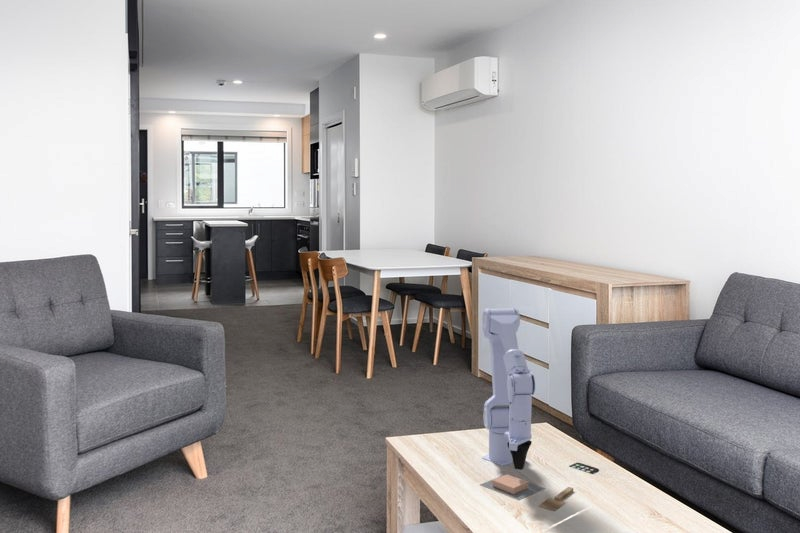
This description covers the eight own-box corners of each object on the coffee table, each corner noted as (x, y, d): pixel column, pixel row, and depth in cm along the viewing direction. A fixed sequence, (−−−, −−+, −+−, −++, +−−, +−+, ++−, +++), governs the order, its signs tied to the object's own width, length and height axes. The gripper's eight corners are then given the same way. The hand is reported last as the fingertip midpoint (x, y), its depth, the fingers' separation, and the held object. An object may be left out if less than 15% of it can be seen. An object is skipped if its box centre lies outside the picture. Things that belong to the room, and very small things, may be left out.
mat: (506, 475, 195) (506, 473, 195) (545, 489, 185) (545, 488, 185) (479, 486, 188) (479, 484, 188) (518, 501, 178) (518, 500, 178)
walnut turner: (562, 489, 186) (562, 485, 186) (578, 494, 183) (578, 489, 183) (538, 508, 175) (538, 503, 174) (554, 513, 172) (554, 508, 172)
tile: (507, 474, 190) (492, 480, 186) (528, 481, 185) (513, 488, 181) (507, 480, 190) (492, 486, 186) (528, 488, 185) (513, 494, 181)
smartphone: (546, 476, 194) (577, 462, 204) (546, 478, 194) (577, 464, 204) (569, 484, 189) (600, 469, 199) (569, 486, 189) (600, 471, 199)
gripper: (512, 408, 195) (511, 456, 196) (497, 424, 182) (496, 475, 183) (537, 412, 192) (536, 460, 193) (525, 428, 179) (523, 480, 180)
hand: (519, 468), depth 188 cm, fingers closed
